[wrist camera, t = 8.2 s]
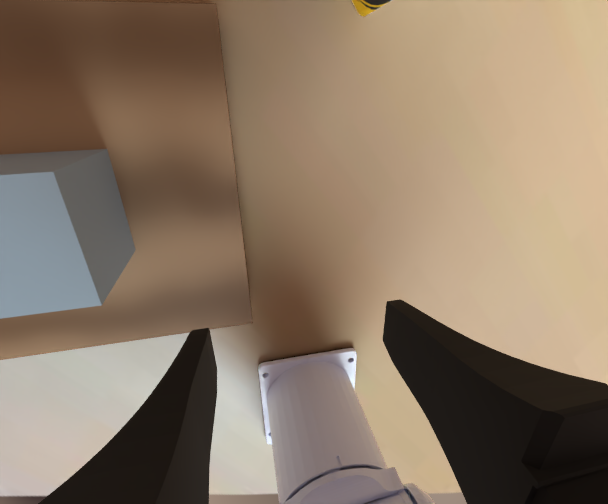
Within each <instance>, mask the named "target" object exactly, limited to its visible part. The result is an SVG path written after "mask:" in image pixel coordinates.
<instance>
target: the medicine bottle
mask: <svg viewBox="0 0 608 504" xmlns="http://www.w3.org/2000/svg"><path fill="white" fill-rule="evenodd" d="M351 1H352V3H353V5H354V7H355V9H356V11H357V12H358V14H359V15H360V16H367V15H369V14H370V13H372V12H374V11H375V10H377V9H379V8H380V7H382V6H384V5H385V4H387V3H389V2H390V1H392V0H351Z"/></svg>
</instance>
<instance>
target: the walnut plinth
mask: <svg viewBox="0 0 608 504" xmlns="http://www.w3.org/2000/svg"><path fill="white" fill-rule="evenodd" d="M95 149H107V150H108V154H109V157H110V161H111V164H112V168H113V171H114V175H115V179H116V182H117V186H118V189H119V193H120V196H121V200H122V203H123V207H124V210H125V214H126V217H127V221H128V225H129V228H130V232H131V235H132V239H133V242H134V246H135V249H136V250H135V252H134V254H133V255H132V257H131V259H130V260H129V262H128V263H127V265H126V267H125V268H124V270H123V272H122V273H121V275H120V276H119V278H118V280H117V281H116V283H115V285H114V286H113V288H112V290H111V291H110V293H109V294H108V296H107V298H106V299H105V301H104V303H103V304H102V305H101V306H94V307H86V308H78V309H71V310H63V311H55V312H48V313H40V314H32V315H25V316H17V317H9V318H2V319H0V360H3V359H10V358H17V357H24V356H31V355H37V354H44V353H51V352H58V351H65V350H72V349H79V348H85V347H92V346H99V345H106V344H113V343H120V342H126V341H133V340H140V339H147V338H154V337H161V336H167V335H174V334H181V333H188V332H191V331H192V330H196V329H203V328H209V329H215V328H222V327H229V326H236V325H243V324H250V323H253V322H252V313H251V303H250V293H249V285H248V276H247V267H246V258H245V250H244V241H243V232H242V224H241V215H240V206H239V197H238V189H237V180H236V171H235V162H234V154H233V145H232V136H231V127H230V119H229V110H228V101H227V92H226V84H225V75H224V66H223V57H222V49H221V40H220V31H219V23H218V15H217V8H216V4H202V3H159V2H115V1H72V0H0V155H3V154H22V153H40V152H58V151H77V150H95Z"/></svg>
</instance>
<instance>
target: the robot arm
mask: <svg viewBox="0 0 608 504" xmlns="http://www.w3.org/2000/svg"><path fill="white" fill-rule="evenodd" d="M383 342H384V344H385V346H386V349H387V351H388V353H389V355H390V357H391V359H392V362H393V363H394V365H395V367H396V368H397V370H398V371H399V373H400V375H401V376H402V378H403V379H404V381H405V383H406V384H407V386H408V387H409V389H410V391H411V392H412V394H413V395H414V397H415V398H416V400H417V402H418V403H419V405H420V406H421V408H422V410H423V411H424V413H425V415H426V417H427V418H428V420H429V422H430V424H431V426H432V428H433V430H434V432H435V434H436V436H437V438H438V440H439V442H440V444H441V446H442V449H443V451H444V453H445V455H446V457H447V459H448V461H449V463H450V466H451V468H452V470H453V472H454V475H455V477H456V479H457V481H458V484H459V486H460V488H461V490H462V493H463V495H464V497H465V500H466V502H467V504H608V385H607V384H605V383H601V382H597V381H593V380H589V379H584V378H580V377H576V376H572V375H568V374H564V373H561V372H557V371H554V370H550V369H547V368H543V367H540V366H537V365H534V364H531V363H528V362H525V361H522V360H520V359H517V358H514V357H511V356H509V355H506V354H504V353H501V352H499V351H496V350H494V349H492V348H489V347H487V346H485V345H482V344H480V343H478V342H476V341H474V340H472V339H470V338H468V337H466V336H464V335H462V334H460V333H458V332H456V331H454V330H452V329H451V328H449V327H447V326H445V325H443V324H442V323H440V322H438V321H436V320H435V319H433V318H431V317H430V316H428V315H426V314H425V313H423V312H421V311H420V310H418V309H416V308H415V307H413V306H411V305H409V304H408V303H406V302H404V301H402V300H394V301H387V304H386V314H385V324H384V333H383ZM349 358H351V359H349ZM356 358H357V353H356V351H355V349H354V348H346V349H340V350H335V351H329V352H323V353H317V354H311V355H305V356H299V357H293V358H287V359H281V360H275V361H269V362H264V363H261V364H260V365H259V366H258V372H259V381H260V390H261V399H262V407H263V416H264V425H265V434H266V442H267V444H270V445H272V448H273V456H274V464H275V472H276V480H277V489H278V497H279V504H435V502H434V501H433V500H432V498H431V497H430V496H429V495H428V494H427V493H426V492H424V491H423V490H421V489H420V488H419V487H418V486H417V485H415V484H413V483H408V484H405V485H402V483H401V480H400V478H399V476H398V474H397V471H396V469H395V468H394V467H392V468H387V465H386V463H385V461H384V458H383V456H382V454H381V451H380V449H379V447H378V444H377V442H376V440H375V437H374V435H373V433H372V430H371V428H370V426H369V423H368V421H367V418H366V416H365V414H364V411H363V409H362V407H361V404H360V402H359V400H358V397H357V395H356V393H355V374H356ZM263 373H266V374H263ZM216 397H217V367H216V361H215V356H214V351H213V346H212V341H211V335H210V330H209V328H203V329H196V330H192V331H191V332H190V334H189V335H188V337H187V339H186V341H185V343H184V345H183V346H182V348H181V350H180V352H179V353H178V355H177V357H176V358H175V360H174V361H173V363H172V365H171V366H170V368H169V369H168V371H167V372H166V374H165V375H164V377H163V378H162V379H161V381H160V382H159V384H158V385H157V386H156V388H155V389H154V391H153V392H152V393H151V395H150V396H149V397H148V399H147V400H146V401H145V402H144V404H143V405H142V406H141V407H140V408H139V410H138V411H137V412H136V413H135V414H134V416H133V417H132V418H131V419H130V420H129V421H128V422H127V423H126V424H125V426H124V427H123V428H122V429H121V430H120V431H119V432H118V433H117V434H116V435H115V436H114V437H113V438H112V439H111V440H110V441H109V442H108V443H107V444H106V445H105V446H104V447H103V448H102V449H101V450H100V451H99V452H98V453H97V454H96V455H95V456H94V457H93V458H92V459H91V460H90V461H88V462H87V463H86V464H85V465H84V466H83V467H82V468H81V469H80V470H78V471H77V472H76V473H75V474H74V475H73V476H72V477H70V478H69V479H68V480H67V481H66V482H64V483H63V484H62V485H61V486H60V487H58V488H57V489H56V490H55V491H53V492H52V493H51V494H50V495H48V496H47V497H46V498H45V499H44V500H42V501H41V502H40V503H39V504H209V463H210V451H211V442H212V433H213V424H214V415H215V406H216Z"/></svg>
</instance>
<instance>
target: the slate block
mask: <svg viewBox="0 0 608 504" xmlns="http://www.w3.org/2000/svg"><path fill="white" fill-rule="evenodd" d="M135 250H136V249H135V246H134V242H133V239H132V235H131V232H130V228H129V225H128V221H127V217H126V214H125V210H124V207H123V203H122V200H121V196H120V193H119V189H118V186H117V182H116V179H115V175H114V171H113V168H112V164H111V161H110V157H109V154H108V150H107V149H95V150H77V151H58V152H40V153H22V154H3V155H0V319H2V318H9V317H17V316H25V315H32V314H40V313H48V312H55V311H63V310H71V309H78V308H86V307H94V306H101V305H102V304H103V303H104V301H105V299H106V298H107V296H108V294H109V293H110V291H111V290H112V288H113V286H114V285H115V283H116V281H117V280H118V278H119V276H120V275H121V273H122V272H123V270H124V268H125V267H126V265H127V263H128V262H129V260H130V259H131V257H132V255H133V254H134V252H135Z"/></svg>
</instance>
